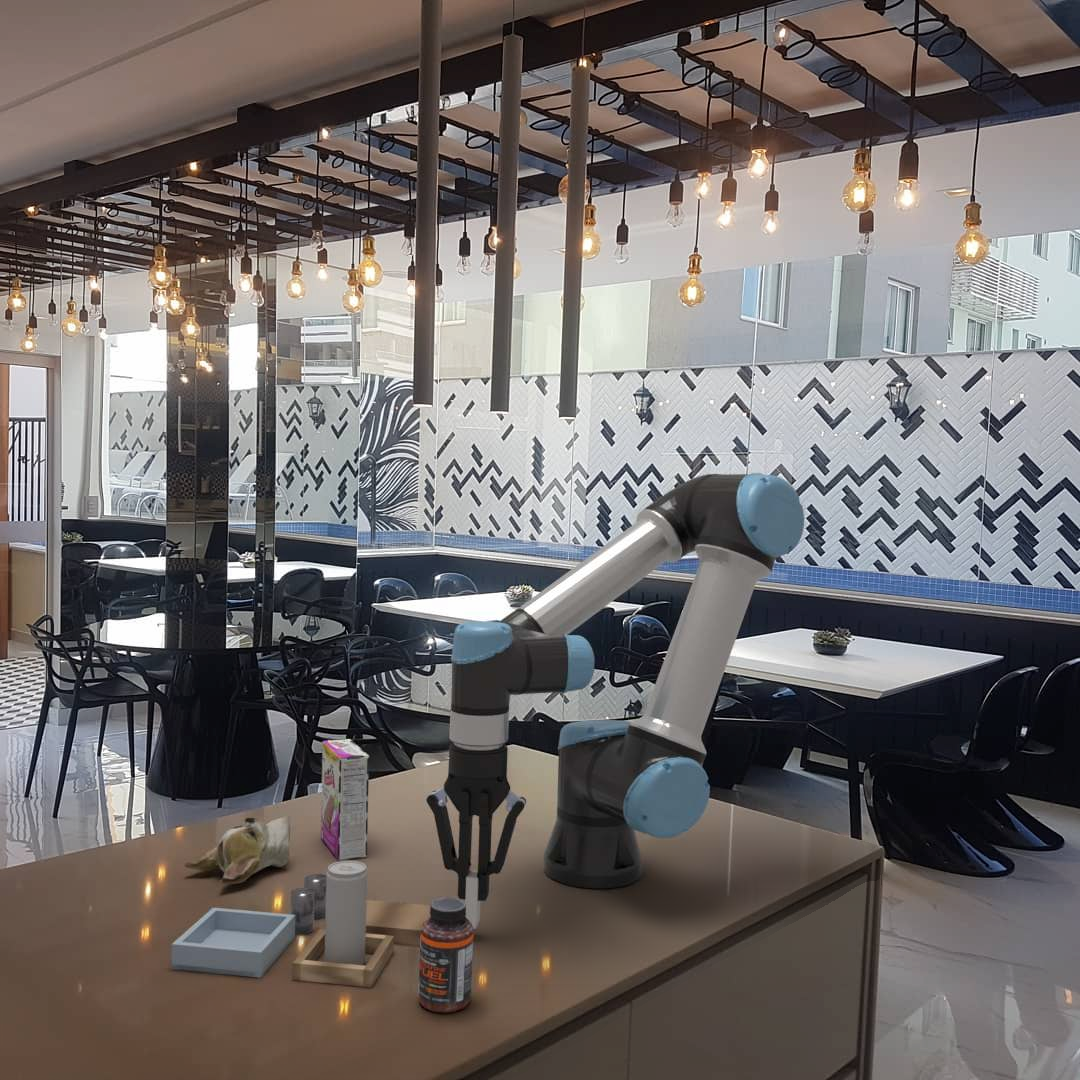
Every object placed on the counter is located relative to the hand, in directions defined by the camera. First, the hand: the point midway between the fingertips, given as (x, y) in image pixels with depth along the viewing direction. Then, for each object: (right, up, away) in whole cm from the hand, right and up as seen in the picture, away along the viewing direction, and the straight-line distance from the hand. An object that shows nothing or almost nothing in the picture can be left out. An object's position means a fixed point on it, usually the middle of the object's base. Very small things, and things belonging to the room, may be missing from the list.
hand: (472, 923), depth 133 cm
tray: (-29, -1, -7) cm, 29 cm away
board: (-10, -2, +1) cm, 11 cm away
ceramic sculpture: (-35, 0, +19) cm, 40 cm away
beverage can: (-15, -2, -9) cm, 17 cm away
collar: (-15, -2, -9) cm, 17 cm away
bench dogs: (-22, -1, +3) cm, 22 cm away
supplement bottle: (-2, -3, -17) cm, 17 cm away
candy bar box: (-23, 0, +31) cm, 39 cm away
